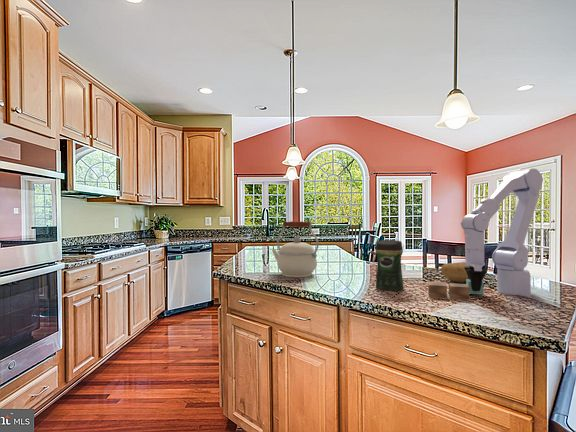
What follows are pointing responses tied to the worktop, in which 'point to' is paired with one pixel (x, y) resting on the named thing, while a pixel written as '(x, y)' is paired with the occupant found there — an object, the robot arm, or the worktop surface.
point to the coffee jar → (389, 265)
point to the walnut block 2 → (458, 291)
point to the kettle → (296, 254)
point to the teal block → (472, 290)
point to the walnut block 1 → (437, 290)
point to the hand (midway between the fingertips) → (474, 289)
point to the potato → (455, 272)
